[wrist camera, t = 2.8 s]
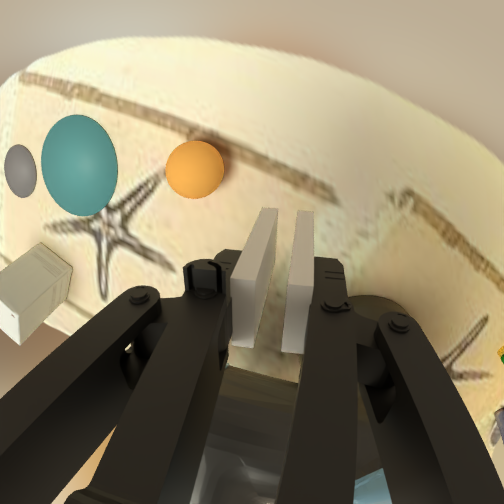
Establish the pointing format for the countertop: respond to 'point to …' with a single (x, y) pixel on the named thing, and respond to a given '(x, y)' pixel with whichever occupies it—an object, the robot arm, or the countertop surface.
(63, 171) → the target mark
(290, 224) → the countertop surface
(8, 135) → the countertop surface
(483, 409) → the countertop surface
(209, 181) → the ball
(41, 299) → the supplement box
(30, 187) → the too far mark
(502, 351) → the dish sponge
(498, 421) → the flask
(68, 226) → the countertop surface
